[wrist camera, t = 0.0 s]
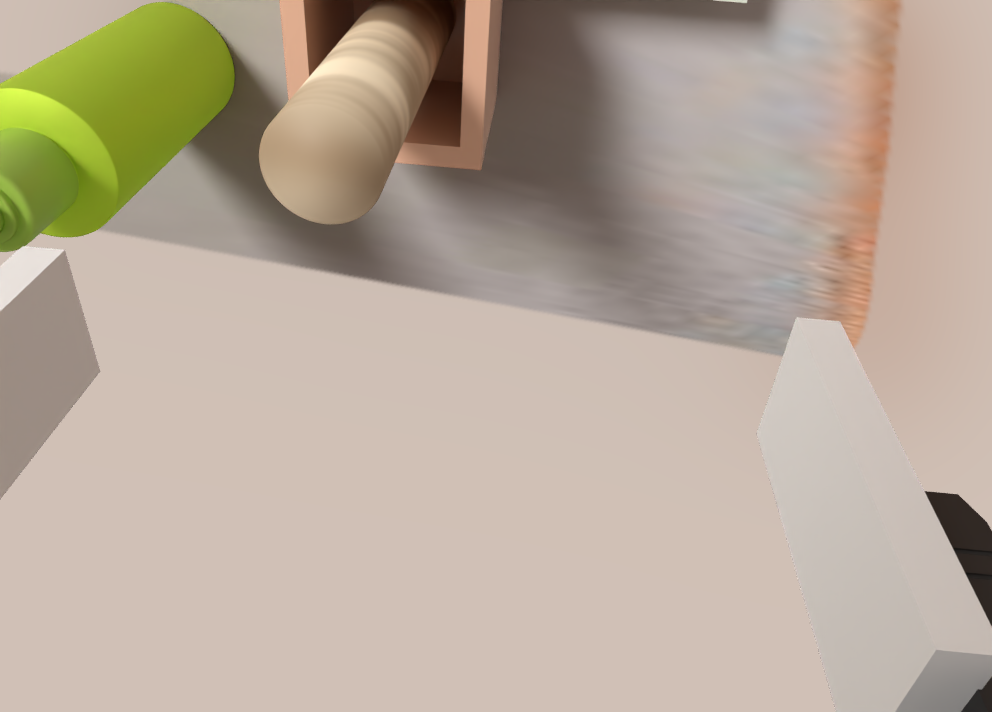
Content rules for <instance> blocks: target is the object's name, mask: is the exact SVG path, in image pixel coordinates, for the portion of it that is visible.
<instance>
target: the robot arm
mask: <svg viewBox="0 0 992 712" xmlns="http://www.w3.org/2000/svg"><path fill="white" fill-rule="evenodd" d="M99 372H100V369H99V366H98V362H97V359H96V355H95V352H94V348H93V345H92V342H91V338H90V335H89V331H88V328H87V324H86V321H85V318H84V314H83V311H82V308H81V304H80V300H79V297H78V293H77V290H76V287H75V283H74V280H73V276H72V273H71V270H70V266H69V262H68V259H67V256H66V252H65V250H60V249H49V248H37V247H27V246H23V247H21V248H20V249H19V250H18V251H17V252H16V253H15V254H13V255H12V256H11V257H10V258H9V259H8V260H6V261H5V262H4V263H3V264H2V265H1V266H0V499H1V498H2V496H3V495H4V494H5V493H6V491H7V490H8V488H9V487H10V486H11V485H12V484H13V482H14V481H15V480H16V479H17V477H18V476H19V475H20V473H21V472H22V471H23V469H24V468H25V467H26V466H27V464H28V463H29V462H30V461H31V459H32V458H33V457H34V455H35V454H36V453H37V452H38V450H39V449H40V448H41V446H42V445H43V444H44V442H45V441H46V440H47V439H48V437H49V436H50V435H51V433H52V432H53V431H54V430H55V428H56V427H57V426H58V425H59V423H60V422H61V421H62V419H63V418H64V417H65V416H66V414H67V413H68V412H69V411H70V409H71V408H72V407H73V405H74V404H75V403H76V402H77V400H78V399H79V398H80V396H81V395H82V394H83V393H84V391H85V390H86V389H87V387H88V386H89V385H90V384H91V382H92V381H93V380H94V378H95V377H96V376H97V375H98V373H99ZM757 437H758V441H759V444H760V448H761V451H762V455H763V458H764V462H765V465H766V469H767V472H768V476H769V479H770V483H771V486H772V490H773V493H774V497H775V500H776V504H777V507H778V511H779V514H780V518H781V521H782V524H783V528H784V532H785V535H786V539H787V542H788V546H789V549H790V553H791V556H792V560H793V563H794V567H795V570H796V574H797V577H798V581H799V584H800V588H801V591H802V595H803V598H804V601H805V605H806V609H807V612H808V616H809V619H810V623H811V626H812V630H813V633H814V637H815V640H816V644H817V647H818V651H819V654H820V658H821V661H822V665H823V668H824V672H825V675H826V678H827V682H828V686H829V689H830V693H831V696H832V699H833V703H834V707H835V710H836V712H992V531H991V529H990V527H989V525H988V524H987V522H986V521H985V520H984V519H983V518H982V517H981V516H980V515H979V514H978V513H977V512H976V511H974V510H973V509H972V508H971V507H970V506H969V505H968V504H967V503H966V502H965V501H964V500H963V499H962V498H961V497H960V496H959V495H957V494H948V493H937V492H927V491H924V489H923V488H922V486H921V483H920V481H919V479H918V477H917V475H916V474H915V471H914V469H913V468H912V465H911V463H910V461H909V459H908V457H907V455H906V453H905V451H904V449H903V447H902V445H901V443H900V441H899V439H898V437H897V435H896V433H895V431H894V430H893V427H892V425H891V423H890V421H889V419H888V417H887V415H886V413H885V411H884V409H883V407H882V405H881V403H880V401H879V399H878V397H877V395H876V393H875V391H874V389H873V387H872V385H871V383H870V381H869V379H868V377H867V375H866V373H865V371H864V369H863V367H862V365H861V363H860V361H859V359H858V357H857V355H856V353H855V351H854V349H853V347H852V345H851V343H850V341H849V338H848V336H847V334H846V332H845V330H844V328H843V326H842V324H841V322H840V321H830V320H819V319H809V318H798V317H796V320H795V323H794V326H793V329H792V332H791V335H790V338H789V341H788V343H787V346H786V349H785V352H784V355H783V358H782V361H781V364H780V367H779V370H778V373H777V376H776V378H775V381H774V384H773V387H772V390H771V393H770V396H769V399H768V402H767V405H766V407H765V411H764V413H763V416H762V419H761V422H760V425H759V428H758V431H757Z"/></svg>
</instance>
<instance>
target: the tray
mask: <svg viewBox="0 0 992 712" xmlns="http://www.w3.org/2000/svg"><path fill="white" fill-rule="evenodd" d="M715 1H727V2H739V3H747V0H715Z"/></svg>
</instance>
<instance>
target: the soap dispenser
mask: <svg viewBox="0 0 992 712" xmlns="http://www.w3.org/2000/svg"><path fill="white" fill-rule="evenodd" d="M234 81H235V74H234V66H233V61H232V58H231V55H230V52H229V50H228V48H227V46H226V44H225V42H224V40H223V39H222V37H221V36H220V34H219V33H218V32H217V31H216V29H215V28H214V27H213V26H212V25H211V24H210V23H209V22H208V21H207V20H205V19H204V18H203V17H202V16H200V15H199V14H197V13H196V12H194V11H192V10H190V9H188V8H186V7H183V6H181V5H177V4H173V3H167V2H156V3H150V4H146V5H144V6H141V7H139V8H137V9H136V10H134V11H132V12H130V13H128V14H126V15H125V16H123V17H121V18H119V19H117V20H116V21H114V22H112V23H110V24H108V25H106V26H105V27H103V28H101V29H99V30H97V31H95V32H94V33H92V34H90V35H88V36H87V37H85V38H83V39H81V40H79V41H78V42H75V43H74V44H72V45H70V46H68V47H66V48H65V49H63V50H61V51H59V52H57V53H55V54H54V55H52V56H50V57H48V58H46V59H44V60H43V61H41V62H39V63H37V64H35V65H34V66H32V67H30V68H28V69H27V70H24V71H23V72H21V73H19V74H17V75H15V76H14V77H12V78H10V79H8V80H6V81H4V82H3V83H1V84H0V252H9V251H14V250H17V249H20V248H21V247H23V246H25V245H27V244H28V243H29V242H31V241H32V240H33V239H34V238H35V237H36V236H37V235H39V234H40V233H42V234H46V235H50V236H56V237H78V236H83V235H86V234H89V233H92V232H94V231H96V230H98V229H99V228H101V227H102V226H103V225H104V224H106V223H107V222H108V221H109V220H110V219H111V218H112V217H113V216H114V215H115V214H116V213H117V212H118V211H119V210H120V209H121V208H122V207H123V206H124V205H125V204H126V203H127V202H128V201H129V200H130V199H131V198H132V197H133V196H134V195H135V194H136V193H137V192H138V191H139V190H140V189H141V188H142V187H143V186H145V185H146V184H147V183H148V182H149V181H150V180H151V179H152V178H153V177H154V176H155V175H156V174H157V173H158V172H159V171H160V170H161V169H162V168H163V167H164V166H165V165H166V164H167V163H168V162H169V161H170V160H171V159H172V158H173V157H174V156H175V155H176V154H177V153H178V152H179V151H180V150H181V149H182V148H183V147H184V146H185V145H186V144H187V143H189V142H190V141H191V140H192V139H193V138H194V137H195V136H196V135H197V134H198V133H199V132H200V131H201V130H202V129H203V128H204V127H205V126H206V125H207V124H208V123H209V122H210V121H211V120H212V119H213V118H214V117H215V116H216V115H217V114H218V113H219V112H220V111H221V110H222V109H223V108H224V107H225V106H226V104H227V103H228V101H229V99H230V97H231V95H232V92H233V88H234Z"/></svg>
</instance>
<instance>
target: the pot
mask: <svg viewBox="0 0 992 712" xmlns="http://www.w3.org/2000/svg"><path fill="white" fill-rule="evenodd" d="M279 1H280V12H281V23H282V34H283V45H284V56H285V67H286V78H287V89H288V100H290V99H291V98H292V97H293V96H294V94H295V93H296V92H297V91H298V90H299V88H300V87H301V86H302V85H303V84H304V83H305V81H306V80H307V79H308V78H309V77H310V76H311V74H312V73H313V72H314V71H315V70H316V68H317V67H318V66H319V65H320V64H321V63H322V61H323V60H324V59H325V58H326V57H327V55H328V54H329V53H330V52H331V51H332V50H333V48H334V47H335V46H336V45H337V44H338V42H339V41H340V40H341V39H342V38H343V37H344V35H345V34H346V33H347V32H348V31H349V30H350V28H351V27H352V26H353V25H354V24H355V22H356V21H357V20H358V19H359V18H360V17H361V15H362V14H363V13H364V12H365V11H366V9H367V8H368V7H369V6H370V5H371V4H372V2H373V1H374V0H279ZM453 1H454V5H455V10H456V21H455V26H454V29H453V32H452V34H451V37H450V39H449V41H448V43H447V46H446V48H445V50H444V52H443V55H442V57H441V59H440V61H439V64H438V66H437V68H436V70H435V73H434V75H433V77H432V79H431V82H430V84H429V86H428V88H427V91H426V93H425V95H424V97H423V100H422V102H421V104H420V106H419V109H418V111H417V113H416V116H415V118H414V120H413V122H412V125H411V127H410V129H409V131H408V134H407V136H406V138H405V140H404V143H403V145H402V147H401V149H400V152H399V154H398V156H397V158H396V161H395V163H406V164H417V165H428V166H439V167H451V168H462V169H473V170H481V168H482V164H483V159H484V154H485V150H486V145H487V141H488V136H489V131H490V127H491V122H492V118H493V113H494V108H495V104H496V99H497V85H498V70H499V54H500V38H501V23H502V7H503V0H453Z"/></svg>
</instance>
